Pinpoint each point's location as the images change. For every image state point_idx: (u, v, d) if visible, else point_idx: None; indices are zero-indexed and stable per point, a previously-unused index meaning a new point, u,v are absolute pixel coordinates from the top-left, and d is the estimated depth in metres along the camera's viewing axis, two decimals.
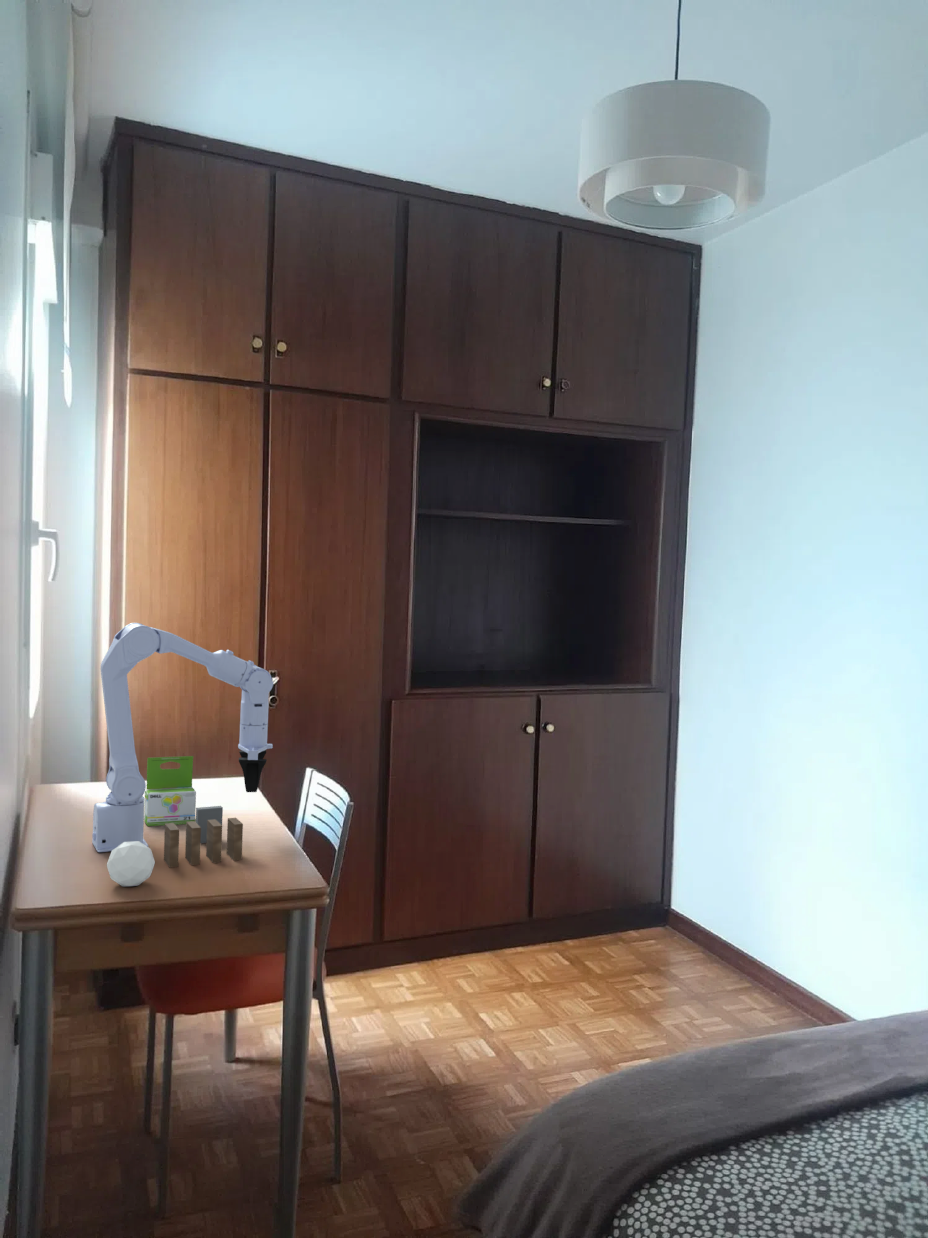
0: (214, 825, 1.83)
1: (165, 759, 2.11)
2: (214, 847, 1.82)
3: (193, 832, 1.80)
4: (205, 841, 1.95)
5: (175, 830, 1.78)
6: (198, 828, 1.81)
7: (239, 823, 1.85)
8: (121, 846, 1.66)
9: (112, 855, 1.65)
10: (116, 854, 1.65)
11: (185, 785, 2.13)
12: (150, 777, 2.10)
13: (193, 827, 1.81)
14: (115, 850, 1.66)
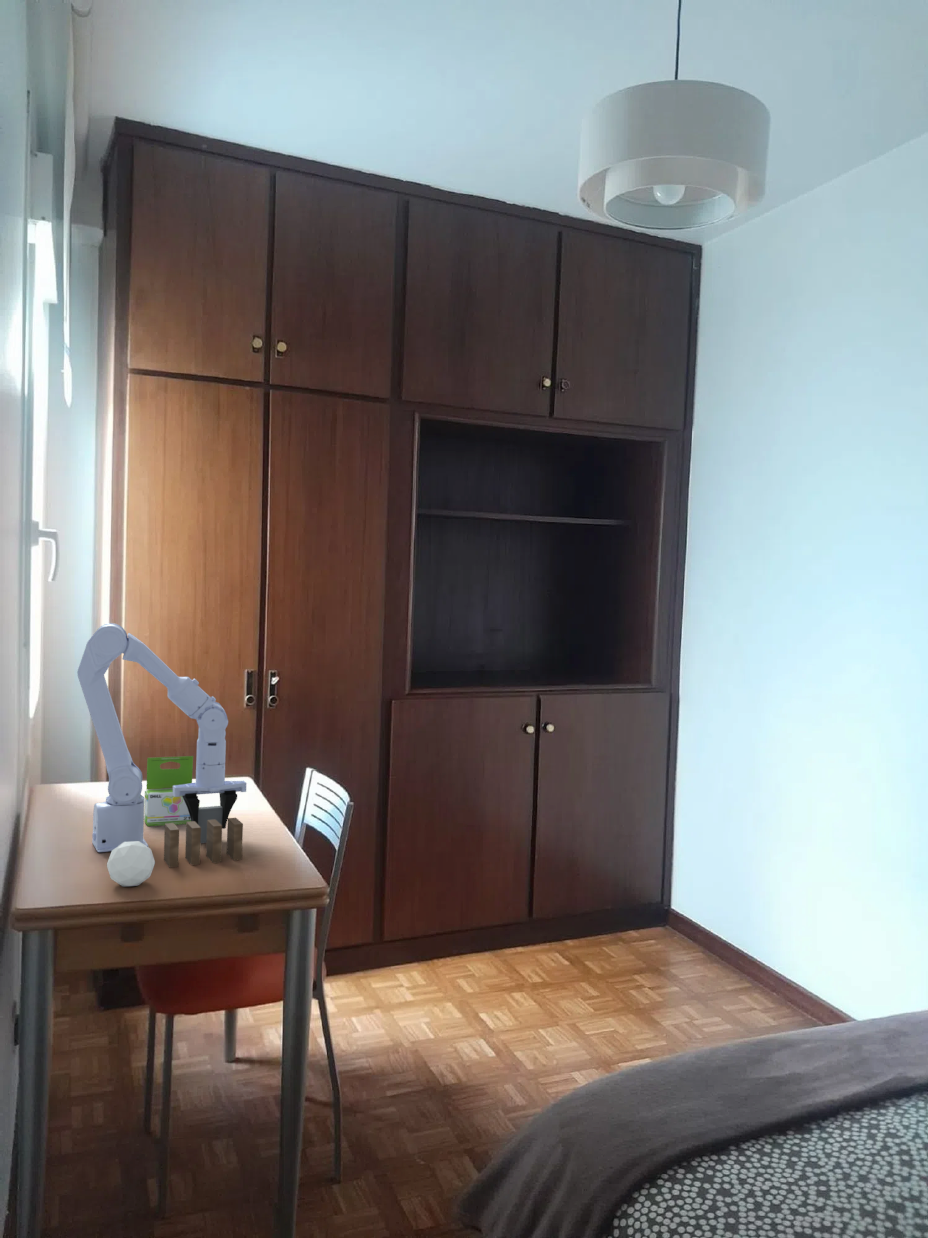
0: (214, 825, 1.83)
1: (165, 759, 2.11)
2: (214, 847, 1.82)
3: (193, 832, 1.80)
4: (205, 841, 1.95)
5: (175, 830, 1.78)
6: (198, 828, 1.81)
7: (239, 823, 1.85)
8: (121, 846, 1.66)
9: (112, 855, 1.65)
10: (116, 853, 1.65)
11: None
12: (150, 777, 2.10)
13: (193, 827, 1.81)
14: (115, 850, 1.66)
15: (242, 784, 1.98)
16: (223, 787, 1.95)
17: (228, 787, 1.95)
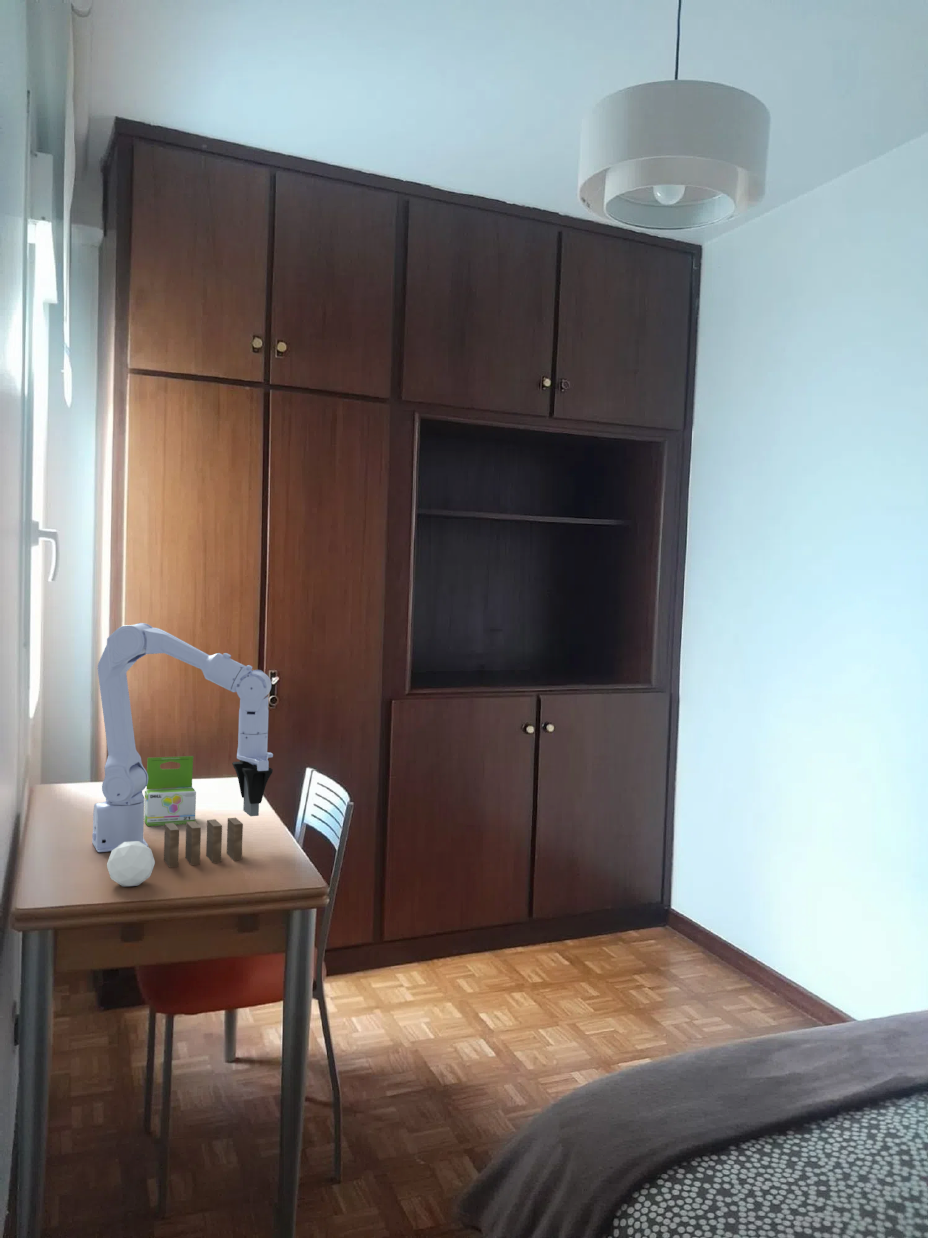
0: (214, 825, 1.83)
1: (165, 759, 2.11)
2: (214, 847, 1.82)
3: (193, 832, 1.80)
4: None
5: (175, 830, 1.78)
6: (198, 828, 1.81)
7: (239, 823, 1.85)
8: (121, 846, 1.66)
9: (112, 855, 1.65)
10: (116, 854, 1.65)
11: (185, 785, 2.13)
12: (150, 777, 2.10)
13: (193, 827, 1.81)
14: (115, 850, 1.66)
15: None
16: None
17: None
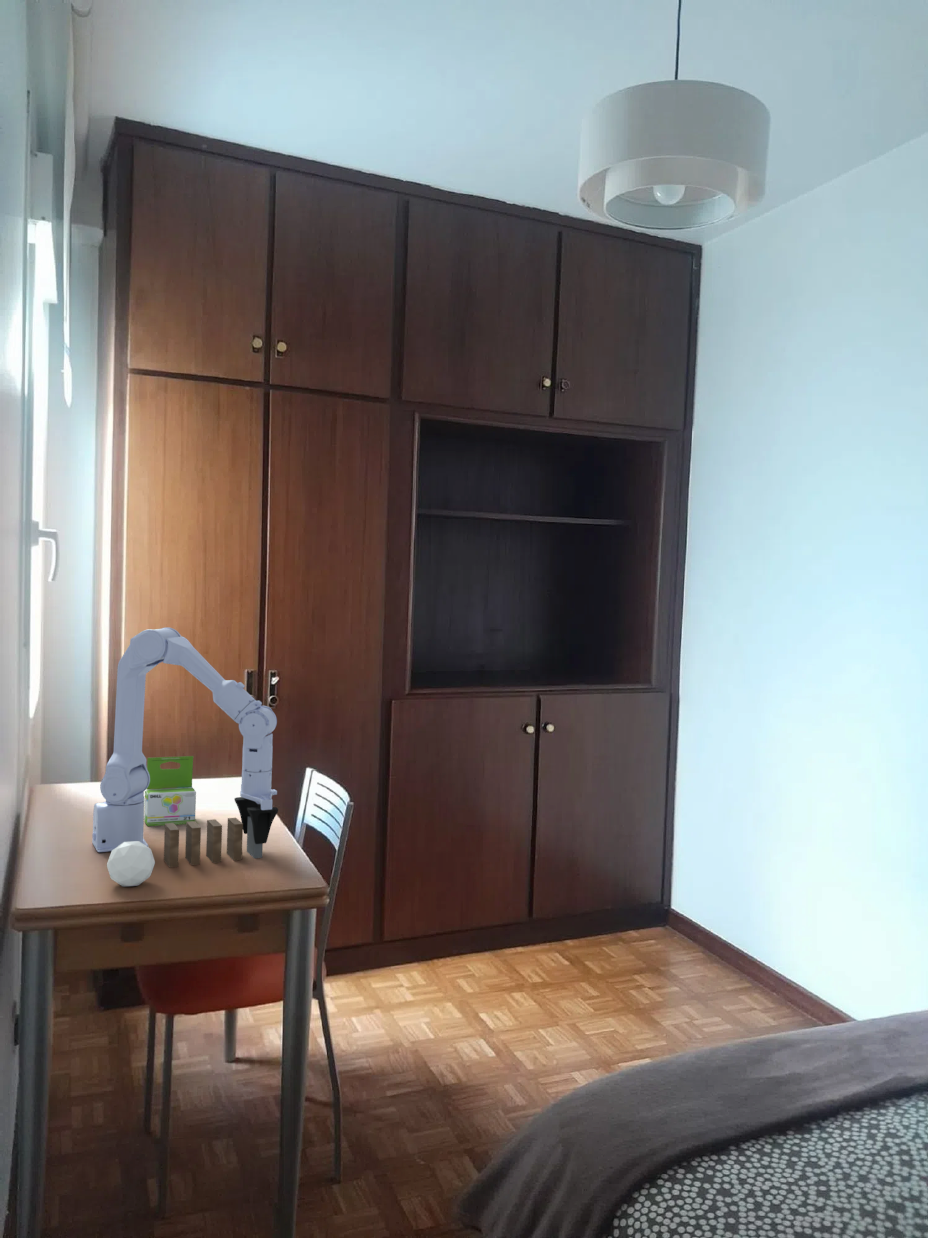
0: (214, 825, 1.83)
1: (165, 759, 2.11)
2: (214, 847, 1.82)
3: (193, 832, 1.80)
4: None
5: (175, 830, 1.78)
6: (198, 828, 1.81)
7: (239, 823, 1.85)
8: (121, 846, 1.66)
9: (112, 855, 1.65)
10: (116, 853, 1.65)
11: (185, 785, 2.13)
12: (150, 777, 2.10)
13: (193, 827, 1.81)
14: (115, 850, 1.66)
15: None
16: None
17: None
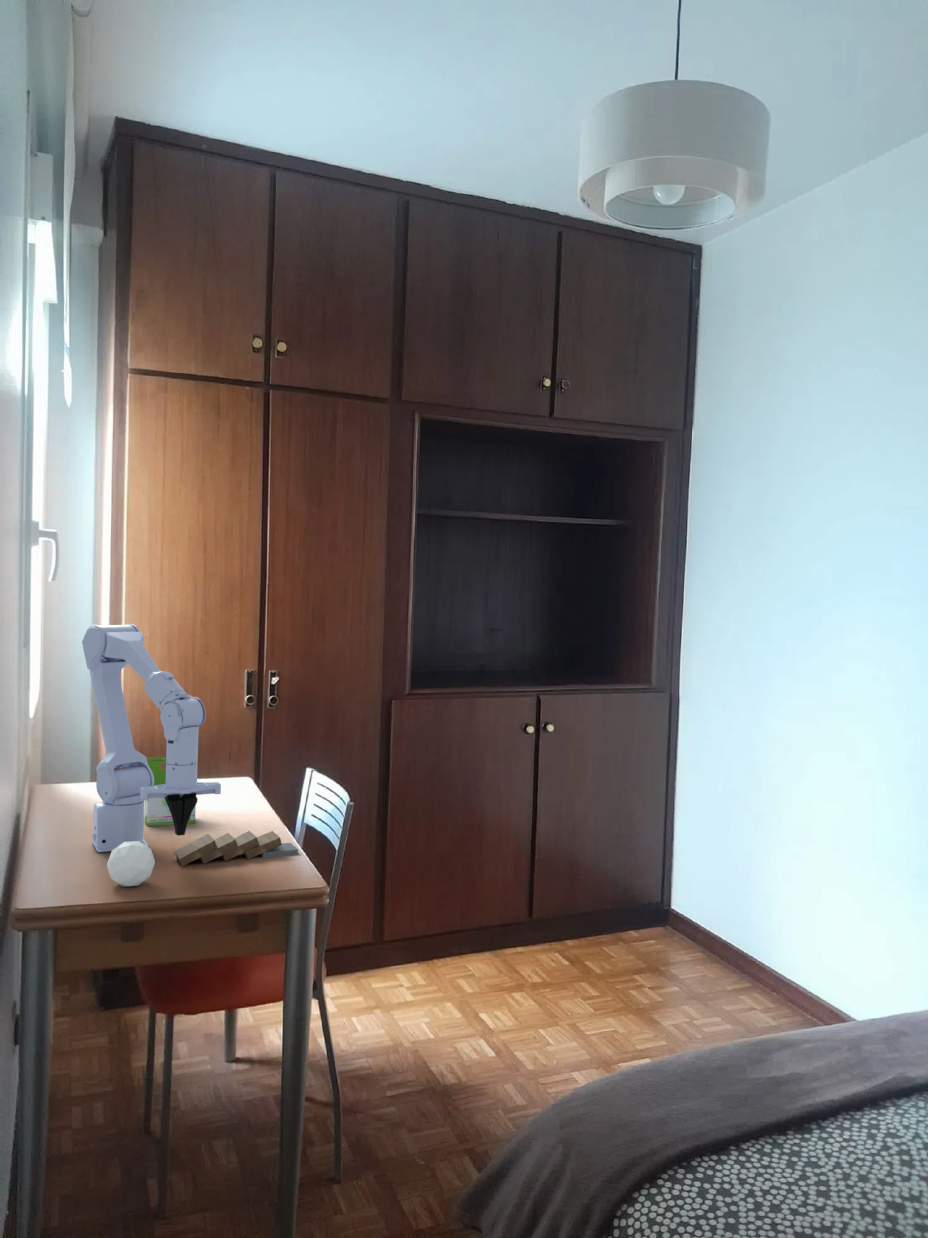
0: None
1: (165, 759, 2.11)
2: (237, 848, 1.84)
3: (232, 842, 1.84)
4: None
5: (215, 844, 1.82)
6: (236, 845, 1.84)
7: (280, 842, 1.89)
8: (121, 846, 1.66)
9: (112, 855, 1.65)
10: (116, 854, 1.65)
11: None
12: None
13: (235, 840, 1.84)
14: (115, 850, 1.66)
15: (216, 786, 1.83)
16: (195, 789, 1.80)
17: (201, 789, 1.81)
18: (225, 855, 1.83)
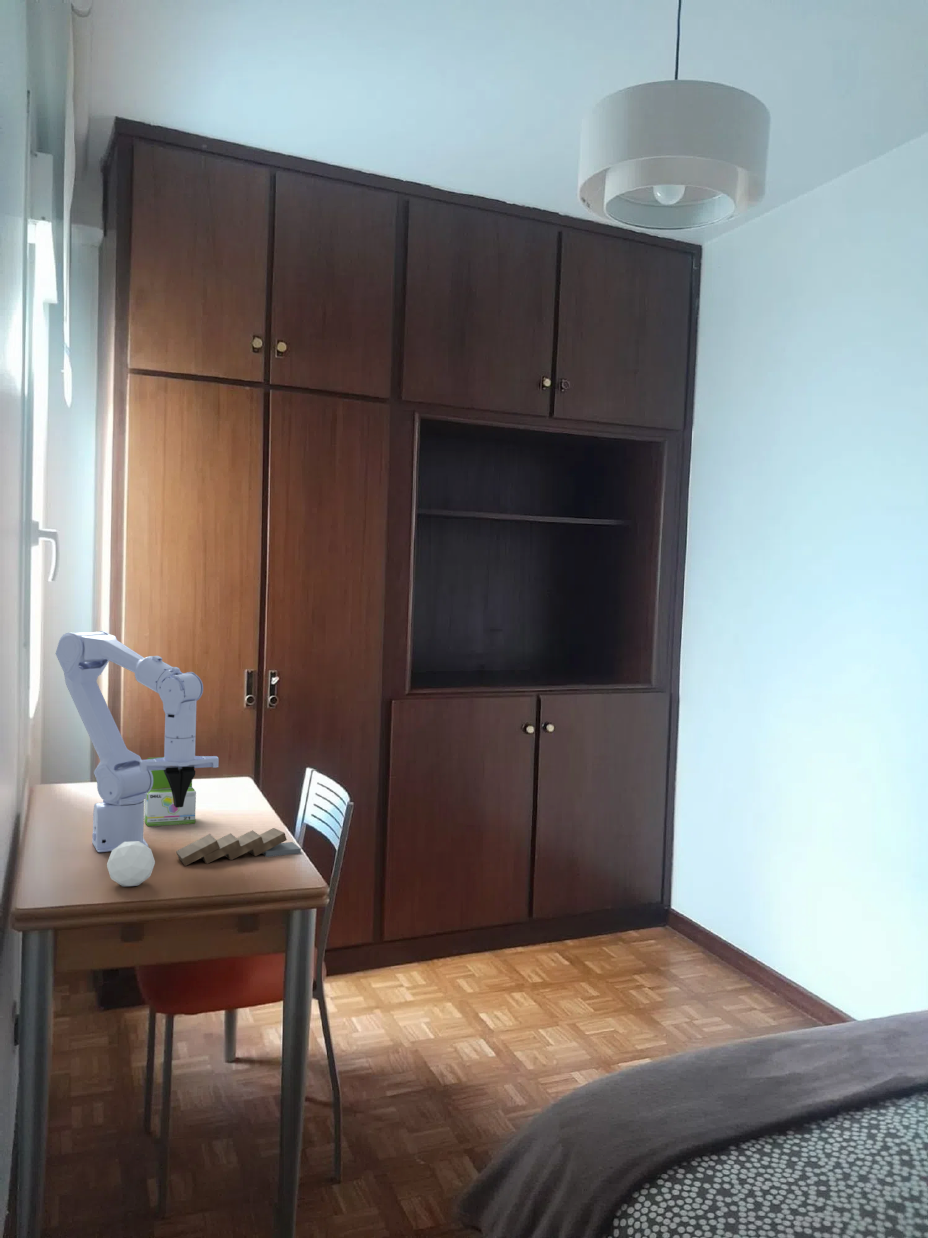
0: None
1: None
2: (242, 847, 1.85)
3: (235, 842, 1.84)
4: None
5: (218, 845, 1.82)
6: (239, 845, 1.85)
7: None
8: (121, 846, 1.66)
9: (112, 855, 1.65)
10: (116, 853, 1.65)
11: None
12: None
13: None
14: (115, 850, 1.66)
15: (214, 759, 1.87)
16: (193, 762, 1.84)
17: (198, 762, 1.85)
18: (230, 854, 1.84)
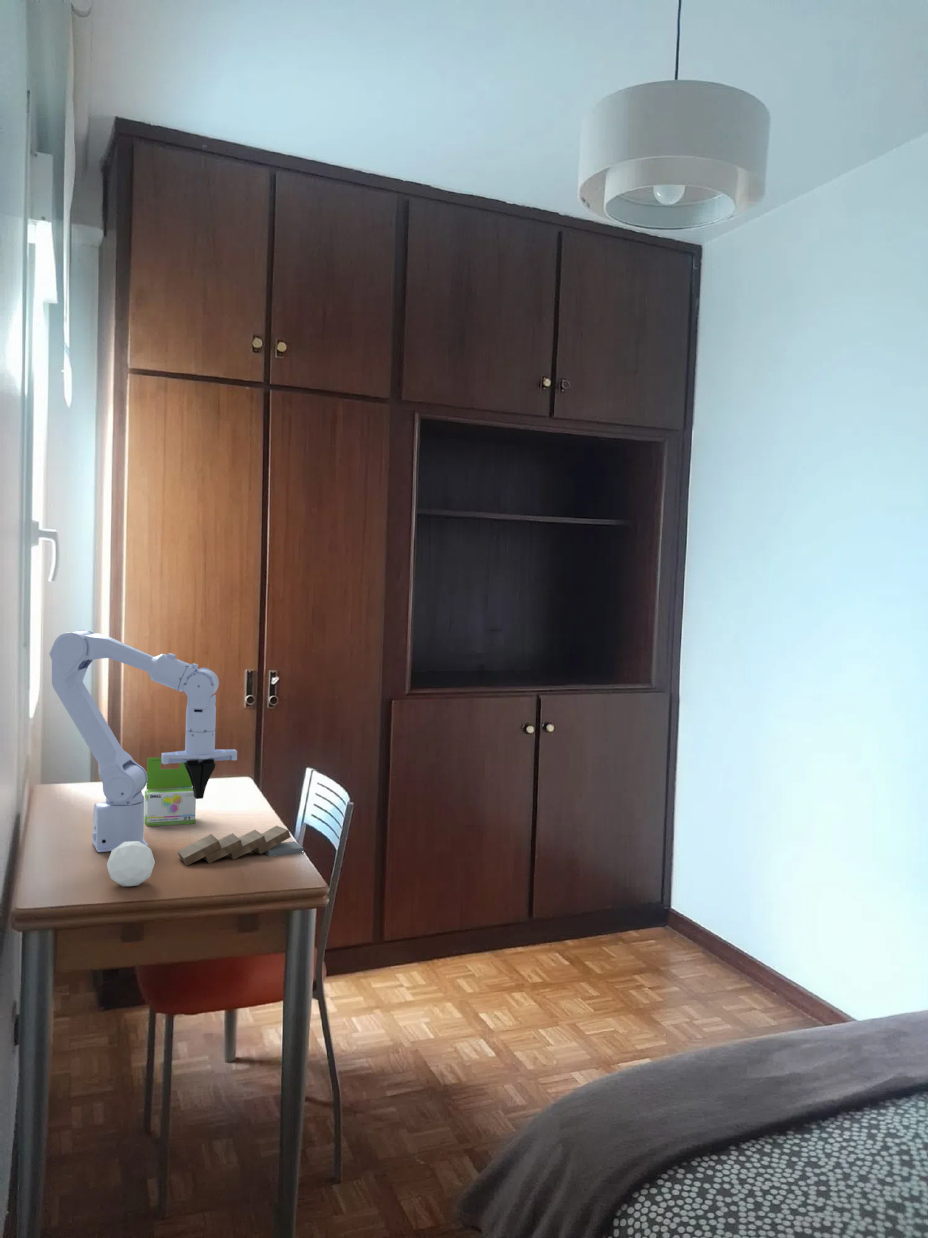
0: None
1: None
2: (245, 846, 1.86)
3: (237, 842, 1.84)
4: None
5: (219, 845, 1.83)
6: (241, 845, 1.85)
7: None
8: (121, 846, 1.66)
9: (112, 855, 1.65)
10: (116, 854, 1.65)
11: (185, 785, 2.13)
12: (150, 777, 2.10)
13: None
14: (115, 850, 1.66)
15: (233, 752, 1.93)
16: (213, 755, 1.90)
17: (218, 755, 1.91)
18: (233, 853, 1.84)
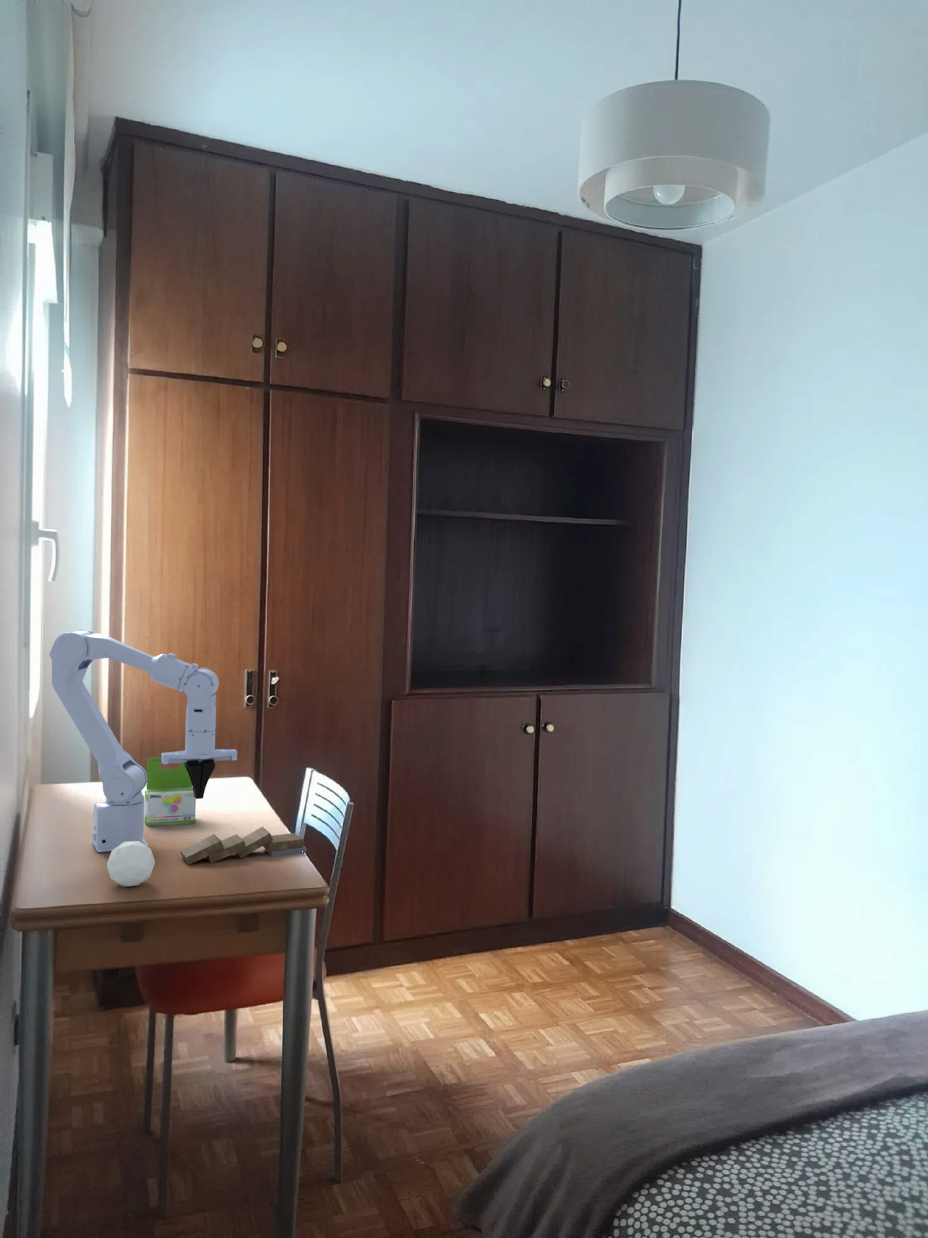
0: (269, 833, 1.89)
1: None
2: (252, 844, 1.86)
3: (240, 843, 1.85)
4: None
5: (222, 845, 1.83)
6: (244, 846, 1.85)
7: None
8: (121, 846, 1.66)
9: (112, 855, 1.65)
10: (116, 854, 1.65)
11: (185, 785, 2.13)
12: (150, 777, 2.10)
13: (243, 841, 1.85)
14: (115, 850, 1.66)
15: (233, 752, 1.93)
16: (213, 755, 1.90)
17: (218, 755, 1.91)
18: (240, 852, 1.85)
